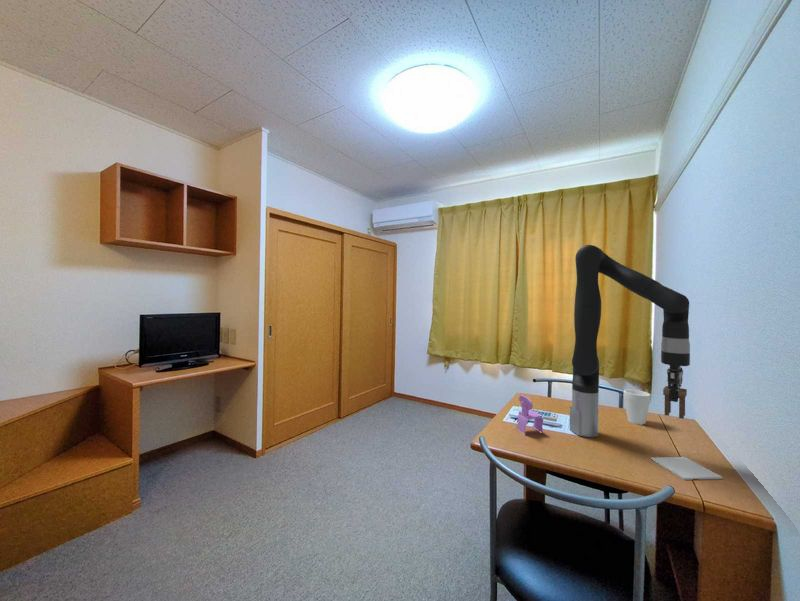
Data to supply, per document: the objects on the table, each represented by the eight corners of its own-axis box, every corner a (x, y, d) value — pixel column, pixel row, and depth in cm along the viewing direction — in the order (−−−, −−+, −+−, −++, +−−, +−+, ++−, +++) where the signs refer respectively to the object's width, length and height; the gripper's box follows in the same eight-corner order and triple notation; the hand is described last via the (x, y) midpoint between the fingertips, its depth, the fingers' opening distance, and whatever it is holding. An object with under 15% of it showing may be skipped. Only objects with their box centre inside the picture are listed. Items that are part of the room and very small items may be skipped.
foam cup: (655, 426, 135) (656, 395, 135) (635, 426, 134) (635, 396, 134) (637, 417, 144) (637, 389, 144) (618, 418, 144) (618, 389, 144)
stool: (684, 419, 106) (684, 392, 106) (663, 414, 110) (663, 389, 110) (686, 415, 109) (686, 389, 109) (665, 410, 114) (665, 385, 113)
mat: (684, 479, 95) (684, 477, 95) (650, 459, 107) (650, 457, 107) (722, 478, 95) (722, 476, 95) (684, 458, 107) (684, 456, 107)
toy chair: (545, 434, 126) (545, 397, 126) (526, 437, 124) (526, 399, 124) (532, 426, 134) (532, 391, 134) (513, 428, 132) (514, 392, 132)
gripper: (687, 354, 102) (687, 407, 102) (691, 349, 112) (691, 397, 112) (657, 351, 107) (657, 401, 107) (664, 347, 117) (664, 392, 117)
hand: (674, 399), depth 110 cm, fingers closed on stool, 5 cm apart
